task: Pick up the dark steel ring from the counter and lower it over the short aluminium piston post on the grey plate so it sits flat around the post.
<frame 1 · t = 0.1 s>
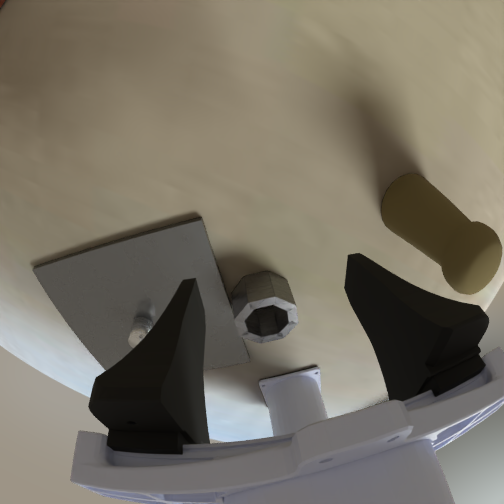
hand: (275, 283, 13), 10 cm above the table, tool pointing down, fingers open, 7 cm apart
cork: (406, 203, 23), on the table
ring: (261, 295, 26), on the table
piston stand: (143, 319, 27), on the table
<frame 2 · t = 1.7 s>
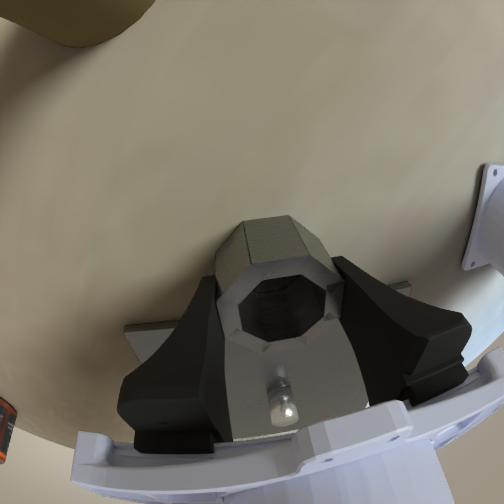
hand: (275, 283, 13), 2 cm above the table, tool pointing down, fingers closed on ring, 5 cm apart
ring: (269, 264, 15), on the table, touching gripper
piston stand: (278, 387, 21), on the table
supplement bottle: (1, 400, 22), on the table
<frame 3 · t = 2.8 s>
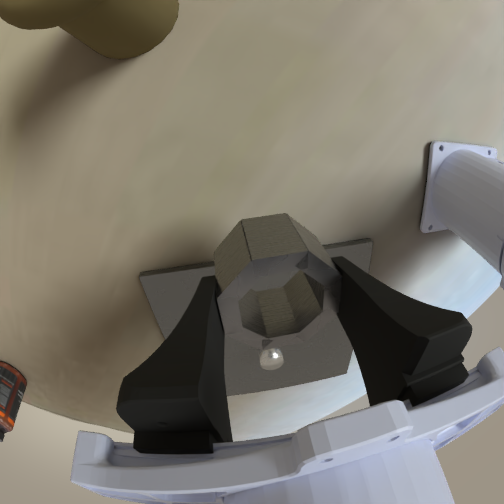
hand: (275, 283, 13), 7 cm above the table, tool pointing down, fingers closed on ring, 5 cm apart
cork: (131, 17, 11), on the table
ring: (267, 262, 15), point 5 cm above the table, touching gripper
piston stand: (266, 336, 26), on the table
supplement bottle: (12, 371, 27), on the table
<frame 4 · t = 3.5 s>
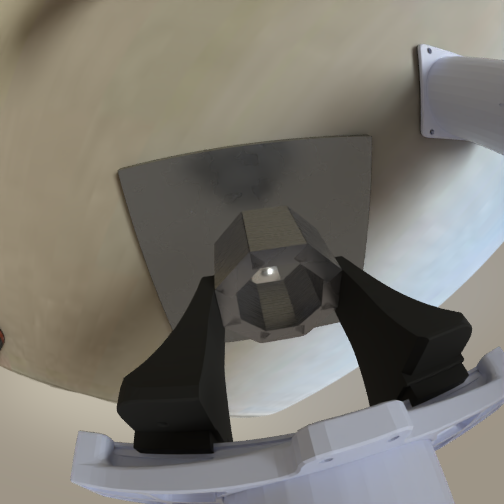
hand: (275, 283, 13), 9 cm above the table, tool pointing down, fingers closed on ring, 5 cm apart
ring: (268, 254, 15), point 7 cm above the table, touching gripper
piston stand: (260, 256, 23), on the table
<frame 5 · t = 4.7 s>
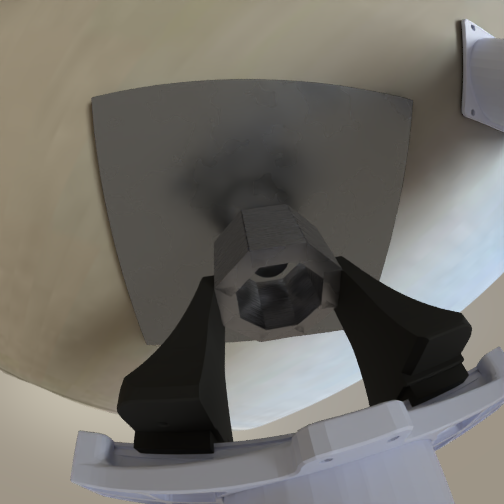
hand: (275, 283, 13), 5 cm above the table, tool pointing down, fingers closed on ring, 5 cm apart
ring: (267, 253, 15), point 3 cm above the table, touching gripper
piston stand: (260, 233, 17), on the table
when the fingers open (3 cm above the table, at t = 5.6 s): ring stays where it is, resting on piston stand.
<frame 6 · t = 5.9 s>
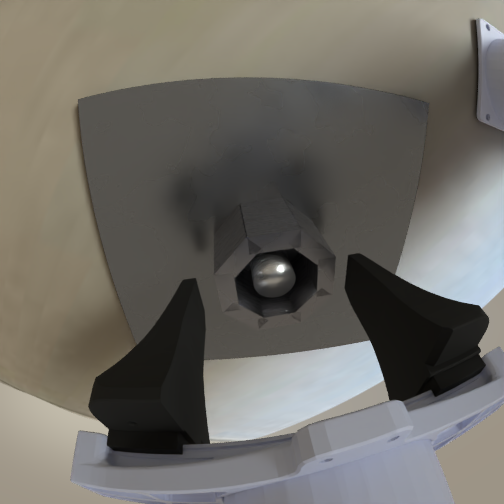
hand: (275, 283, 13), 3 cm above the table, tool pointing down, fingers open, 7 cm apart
ring: (265, 245, 15), point 1 cm above the table, touching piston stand
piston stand: (264, 246, 16), on the table
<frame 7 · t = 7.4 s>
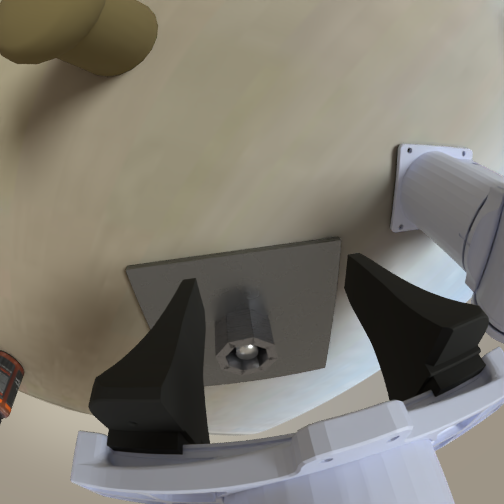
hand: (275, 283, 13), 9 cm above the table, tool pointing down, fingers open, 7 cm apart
cork: (116, 37, 13), on the table
ring: (243, 329, 27), point 1 cm above the table, touching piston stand
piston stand: (243, 328, 28), on the table
supplement bottle: (10, 360, 29), on the table
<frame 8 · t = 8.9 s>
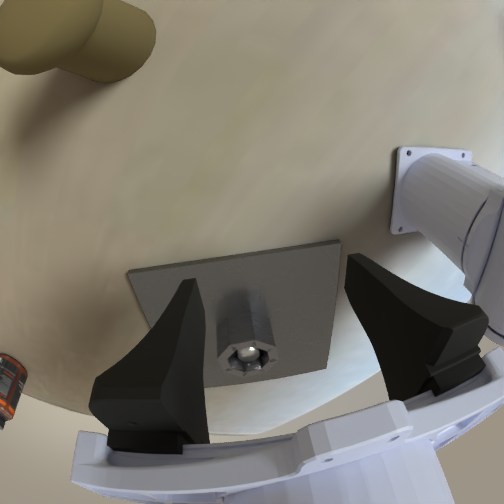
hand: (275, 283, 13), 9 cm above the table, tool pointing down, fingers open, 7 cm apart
cork: (115, 43, 14), on the table
ring: (245, 332, 27), point 1 cm above the table, touching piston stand
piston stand: (245, 330, 28), on the table
supplement bottle: (13, 363, 29), on the table
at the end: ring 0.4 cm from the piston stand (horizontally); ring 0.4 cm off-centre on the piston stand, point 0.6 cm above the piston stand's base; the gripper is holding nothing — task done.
